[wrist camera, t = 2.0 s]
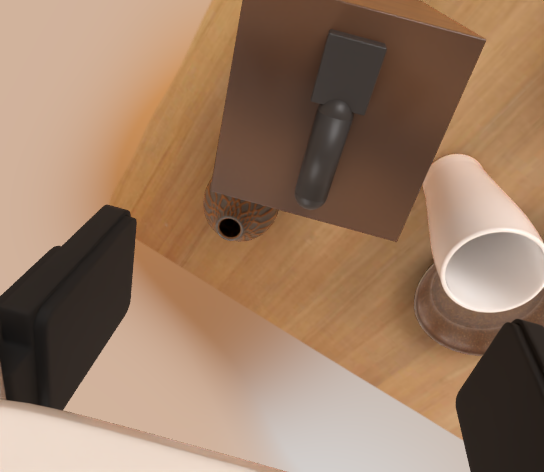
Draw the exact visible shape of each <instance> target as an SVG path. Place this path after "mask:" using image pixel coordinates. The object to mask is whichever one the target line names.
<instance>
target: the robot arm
mask: <svg viewBox="0 0 544 472" xmlns="http://www.w3.org/2000/svg"><path fill="white" fill-rule="evenodd" d="M135 236H136V219H135V218H132V217H131V215H130V212H129V211H128V210H125V209H121V208H118V207H114V206H110V205H105V206H103V207H102V208H101V209H100V210H99V211H98V212H97V213H96V214H95V215H94V216H93V217H92V218H91V219H90V220H89V221H87V222H86V223H85V225H83V226H82V227H81V228H80V229H79V230H78V231H77V232H76V233H75V234H74V235H73V236H72V237H71V238H70V239H69V240H68V241H67V242H66V243H65V244H64V245H62V246H56V247H53V248H52V249H51V250H49V251H48V252H47V253H46V254H45V255H44V256H43V257H42V258H41V259H40V260H39V261H38V262H36V263H35V264H34V265H33V266H32V267H31V268H30V269H29V270H28V271H27V272H26V273H25V274H24V275H23V276H22V277H20V278H19V279H18V280H17V281H16V282H15V283H14V284H13V285H12V286H11V287H10V288H9V289H8V290H6V292H4V293H3V294H2V295H1V296H0V472H286V471H283V470H279V469H275V468H272V467H268V466H265V465H261V464H258V463H254V462H251V461H247V460H244V459H240V458H236V457H233V456H229V455H226V454H222V453H219V452H215V451H211V450H208V449H204V448H201V447H197V446H194V445H190V444H186V443H183V442H179V441H176V440H172V439H169V438H165V437H161V436H158V435H154V434H151V433H147V432H143V431H140V430H136V429H132V428H129V427H125V426H120V425H117V424H113V423H109V422H106V421H101V420H98V419H94V418H90V417H86V416H82V415H79V414H75V413H71V412H67V411H63V409H64V408H65V406H66V405H67V403H68V401H69V400H70V398H71V397H72V395H73V394H74V392H75V391H76V389H77V388H78V386H79V384H80V383H81V382H82V380H83V379H84V377H85V375H86V374H87V372H88V371H89V369H90V368H91V366H92V365H93V363H94V362H95V360H96V359H97V357H98V355H99V354H100V353H101V351H102V349H103V348H104V346H105V345H106V343H107V342H108V340H109V339H110V337H111V336H112V334H113V333H114V331H115V330H116V328H117V327H118V325H119V324H120V322H121V321H122V319H123V318H124V316H125V314H126V313H127V310H128V308H129V305H130V299H131V287H132V286H131V285H132V273H133V262H134V249H135ZM456 410H457V414H458V419H459V423H460V427H461V432H462V436H463V440H464V445H465V449H466V454H467V458H468V462H469V467H470V471H471V472H544V327H543V326H542V325H539V324H536V323H532V322H529V321H525V320H521V319H515V320H513V321H512V322H511V323H510V322H506V323H505V324H504V325H503V326H502V327H501V329H500V330H499V332H498V333H497V335H496V336H495V338H494V340H493V341H492V343H491V344H490V346H489V347H488V349H487V350H486V352H485V353H484V355H483V356H482V358H481V359H480V361H479V362H478V364H477V365H476V367H475V368H474V370H473V371H472V373H471V374H470V376H469V377H468V379H467V380H466V382H465V383H464V385H463V386H462V388H461V389H460V391H459V392H458V394H457V397H456Z"/></svg>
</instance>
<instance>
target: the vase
mask: <svg viewBox="0 0 544 472" xmlns="http://www.w3.org/2000/svg"><path fill="white" fill-rule="evenodd" d="M211 183H212V179H211V180H210V182H209V184H208V185H207V188H206V191H205V194H204V212H205V216H206V219H207V221H208V223H209V224H210V226H211V227H212V228H213V230H214V231H215V232H217V233H218V234H219V235H220V236H221V237H222V238H223V239H226V240H229V241H248V240H252V239H254V238H257V237H258V236H260V235H262V234H263V233H264V232H265V231H267V230H268V229H269V227H270V226H271V225H272V224H273V222H274V220H275V219H276V216H277V214H278V209H274V208H271V207H267V206H263V205H260V204H256V203H252V202H249V201H245V200H241V199H238V198H234V197H230V196H227V195H223V194H219V193H216V192H212V191H211V190H210V189H211Z"/></svg>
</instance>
